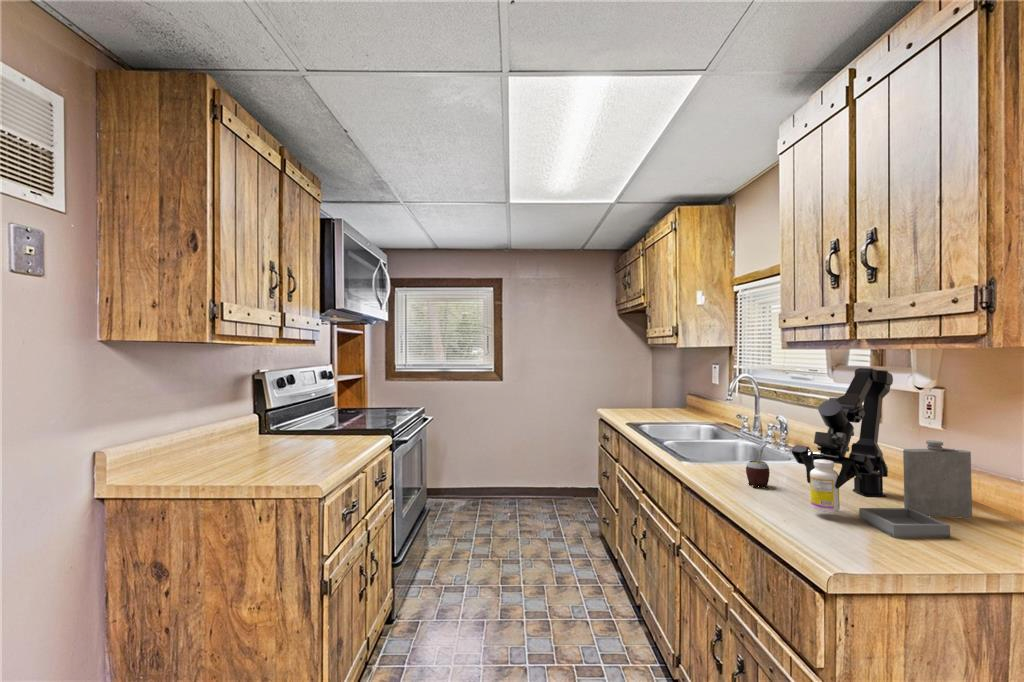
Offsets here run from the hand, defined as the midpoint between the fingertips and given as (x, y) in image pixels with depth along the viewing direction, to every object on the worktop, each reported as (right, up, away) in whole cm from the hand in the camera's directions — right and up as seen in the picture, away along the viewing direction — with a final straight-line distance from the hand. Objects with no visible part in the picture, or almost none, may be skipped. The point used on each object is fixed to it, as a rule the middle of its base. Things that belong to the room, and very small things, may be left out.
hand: (822, 485), depth 137 cm
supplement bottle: (+1, -7, +1) cm, 7 cm away
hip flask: (+31, -8, 0) cm, 32 cm away
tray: (+15, -8, -9) cm, 19 cm away
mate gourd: (-3, -9, +30) cm, 31 cm away
